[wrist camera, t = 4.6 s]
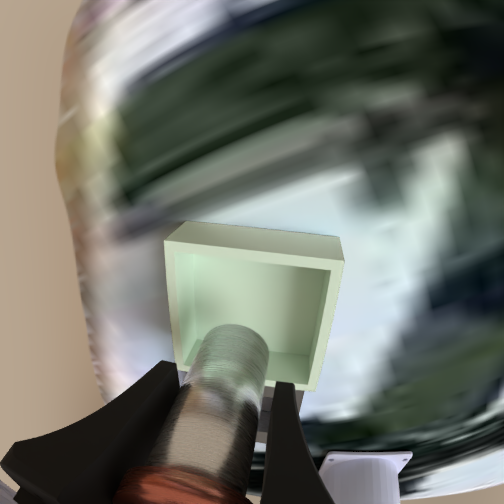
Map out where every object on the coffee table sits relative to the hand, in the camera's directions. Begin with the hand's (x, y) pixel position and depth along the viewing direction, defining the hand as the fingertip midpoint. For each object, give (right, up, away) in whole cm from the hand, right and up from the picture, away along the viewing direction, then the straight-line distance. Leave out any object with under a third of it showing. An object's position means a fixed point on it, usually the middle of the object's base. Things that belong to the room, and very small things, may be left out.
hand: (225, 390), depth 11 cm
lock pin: (0, +1, +3) cm, 3 cm away
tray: (+1, +3, +7) cm, 7 cm away
